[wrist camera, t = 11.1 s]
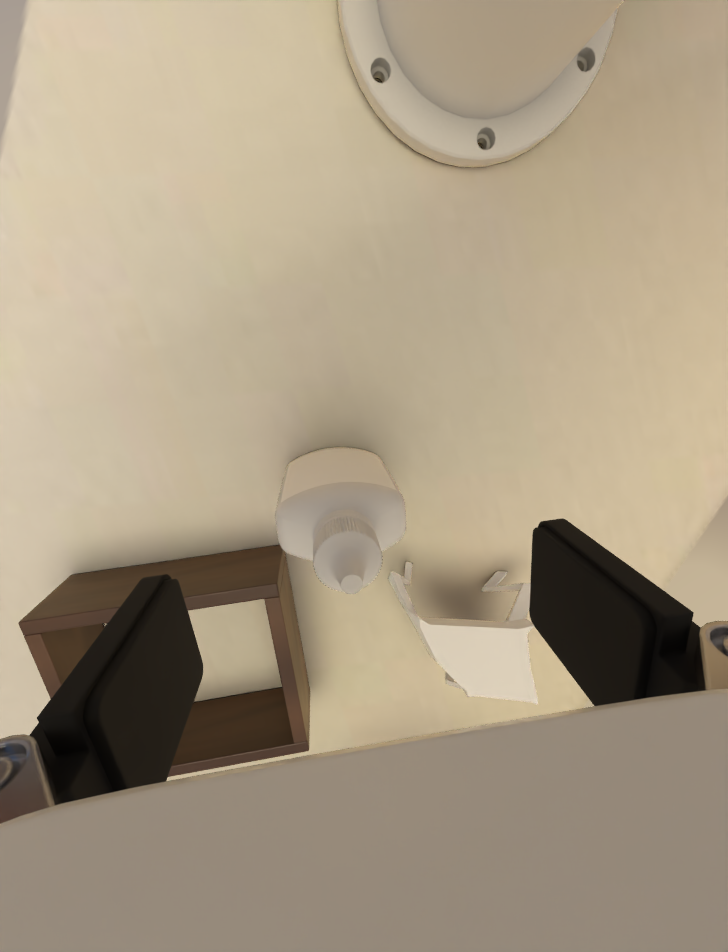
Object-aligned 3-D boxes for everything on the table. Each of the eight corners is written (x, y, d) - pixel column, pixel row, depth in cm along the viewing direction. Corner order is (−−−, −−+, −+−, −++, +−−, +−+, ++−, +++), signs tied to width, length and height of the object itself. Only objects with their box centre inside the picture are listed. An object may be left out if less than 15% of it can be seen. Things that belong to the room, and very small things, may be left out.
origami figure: (554, 577, 28) (602, 622, 23) (495, 670, 30) (529, 730, 25) (401, 517, 25) (421, 554, 21) (347, 624, 27) (354, 680, 22)
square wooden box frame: (70, 574, 24) (17, 622, 20) (283, 544, 25) (277, 583, 21) (125, 723, 27) (90, 792, 23) (310, 691, 28) (309, 751, 24)
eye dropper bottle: (304, 422, 23) (293, 490, 11) (392, 459, 24) (461, 555, 13) (276, 489, 24) (239, 614, 12) (361, 522, 25) (400, 663, 14)
